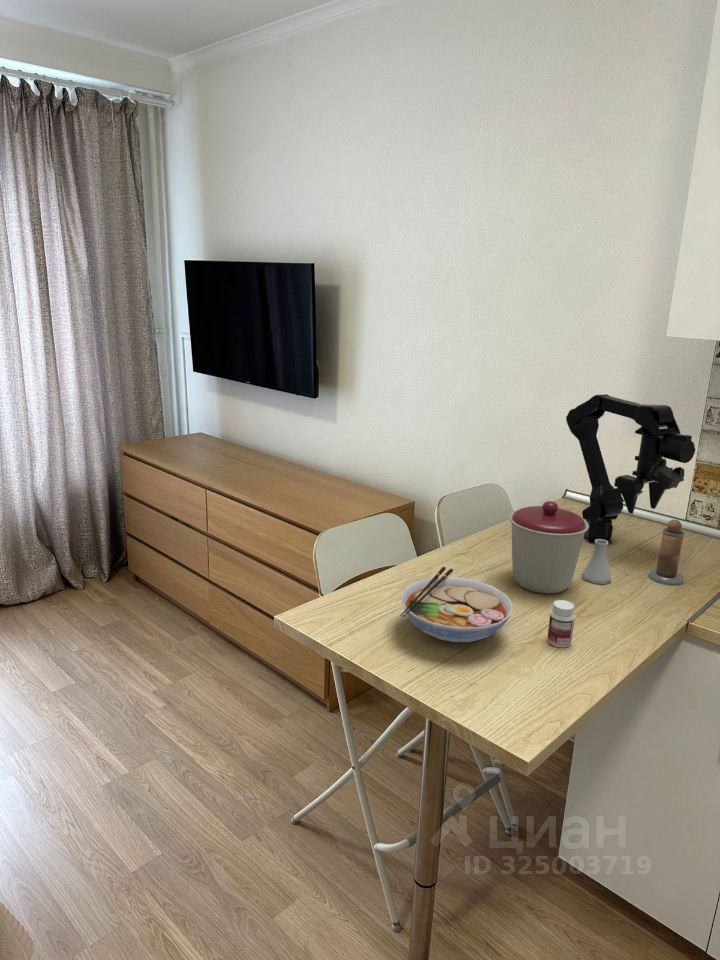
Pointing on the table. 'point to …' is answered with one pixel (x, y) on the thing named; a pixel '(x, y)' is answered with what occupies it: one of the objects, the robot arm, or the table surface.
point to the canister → (545, 546)
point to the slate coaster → (667, 581)
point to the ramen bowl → (455, 607)
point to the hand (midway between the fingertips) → (641, 510)
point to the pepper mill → (670, 550)
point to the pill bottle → (561, 624)
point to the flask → (598, 565)
